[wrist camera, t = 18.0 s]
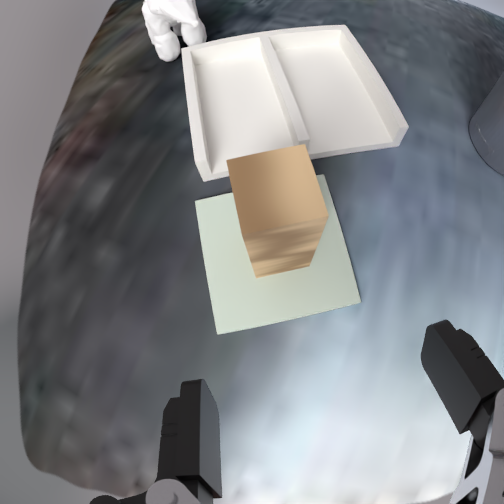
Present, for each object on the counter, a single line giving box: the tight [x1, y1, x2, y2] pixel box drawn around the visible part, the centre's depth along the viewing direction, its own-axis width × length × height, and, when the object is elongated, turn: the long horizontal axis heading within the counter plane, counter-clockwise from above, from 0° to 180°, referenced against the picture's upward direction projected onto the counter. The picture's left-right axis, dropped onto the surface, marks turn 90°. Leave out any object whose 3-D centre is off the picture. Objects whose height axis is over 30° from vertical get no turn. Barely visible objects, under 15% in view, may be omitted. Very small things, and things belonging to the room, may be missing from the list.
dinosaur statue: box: [142, 0, 207, 62], centre depth 32 cm, size 7×24×11 cm, turn 32°
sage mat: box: [195, 174, 361, 334], centre depth 28 cm, size 12×12×1 cm
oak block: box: [226, 144, 329, 278], centre depth 22 cm, size 4×4×11 cm
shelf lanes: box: [181, 25, 409, 182], centre depth 31 cm, size 20×17×4 cm
